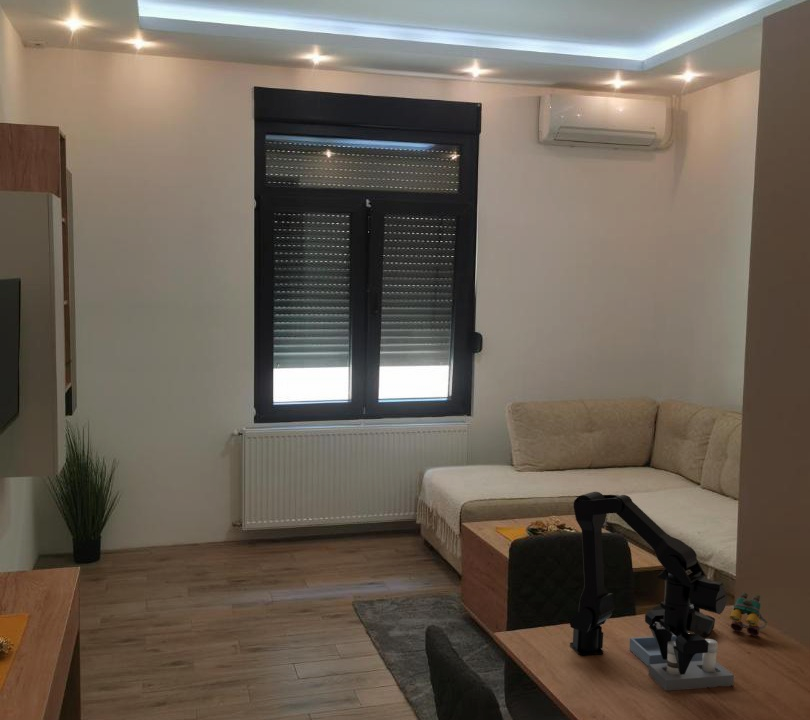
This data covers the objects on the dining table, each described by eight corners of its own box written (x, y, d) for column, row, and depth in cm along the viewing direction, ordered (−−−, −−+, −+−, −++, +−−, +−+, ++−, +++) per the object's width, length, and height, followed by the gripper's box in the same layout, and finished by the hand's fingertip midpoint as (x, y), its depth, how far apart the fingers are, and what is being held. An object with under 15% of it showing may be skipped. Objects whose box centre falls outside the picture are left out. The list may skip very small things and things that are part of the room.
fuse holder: (665, 690, 192) (666, 680, 192) (648, 674, 200) (649, 664, 199) (733, 685, 195) (733, 675, 195) (713, 669, 203) (714, 659, 203)
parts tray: (648, 667, 203) (649, 655, 203) (629, 649, 213) (629, 637, 213) (702, 663, 206) (703, 651, 206) (680, 646, 216) (681, 634, 216)
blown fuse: (669, 685, 195) (672, 647, 194) (662, 678, 198) (665, 641, 197) (682, 684, 195) (684, 646, 195) (675, 677, 198) (677, 640, 198)
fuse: (705, 682, 197) (707, 645, 196) (698, 676, 200) (700, 639, 199) (717, 681, 197) (720, 644, 196) (710, 675, 200) (712, 638, 199)
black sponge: (717, 631, 227) (717, 617, 227) (707, 641, 220) (708, 627, 220) (657, 615, 237) (657, 603, 236) (646, 625, 230) (647, 612, 230)
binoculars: (727, 635, 229) (723, 611, 224) (735, 608, 235) (732, 584, 230) (763, 644, 224) (761, 620, 219) (771, 617, 230) (769, 593, 225)
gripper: (732, 615, 187) (728, 683, 189) (688, 585, 206) (684, 647, 207) (686, 617, 185) (682, 686, 187) (645, 587, 203) (642, 650, 205)
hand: (673, 666), depth 196 cm, fingers open, 7 cm apart
